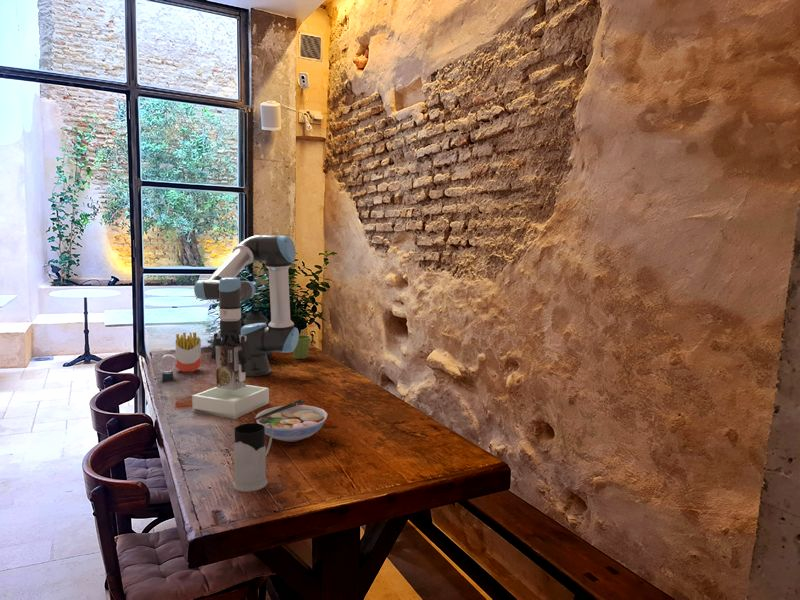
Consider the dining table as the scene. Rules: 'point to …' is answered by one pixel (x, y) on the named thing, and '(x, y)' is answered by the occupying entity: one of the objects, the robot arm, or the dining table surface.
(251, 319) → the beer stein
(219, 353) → the coffee box
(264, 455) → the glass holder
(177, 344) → the french fries container
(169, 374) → the watch
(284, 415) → the ramen bowl
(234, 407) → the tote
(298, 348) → the plant pot
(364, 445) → the dining table surface
